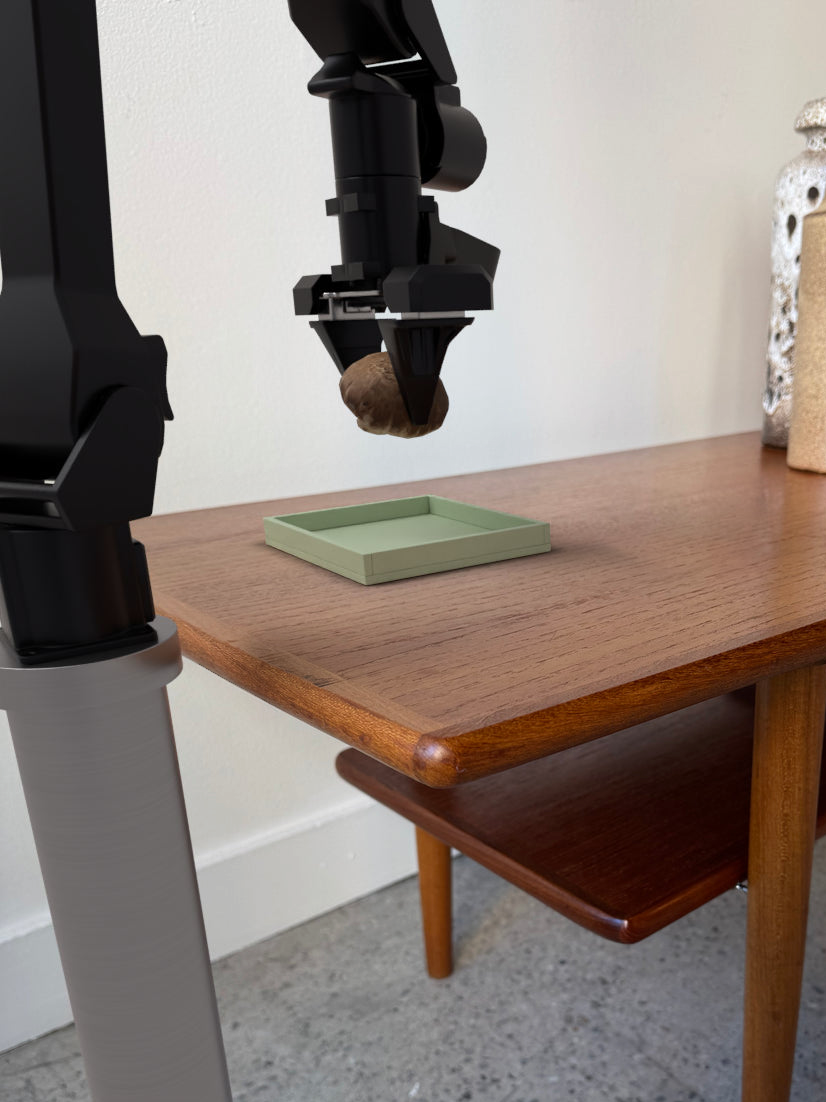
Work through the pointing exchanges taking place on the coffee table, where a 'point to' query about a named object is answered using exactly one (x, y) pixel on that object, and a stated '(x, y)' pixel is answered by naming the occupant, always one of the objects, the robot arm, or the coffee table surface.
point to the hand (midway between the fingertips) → (395, 421)
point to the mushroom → (385, 399)
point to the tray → (405, 537)
